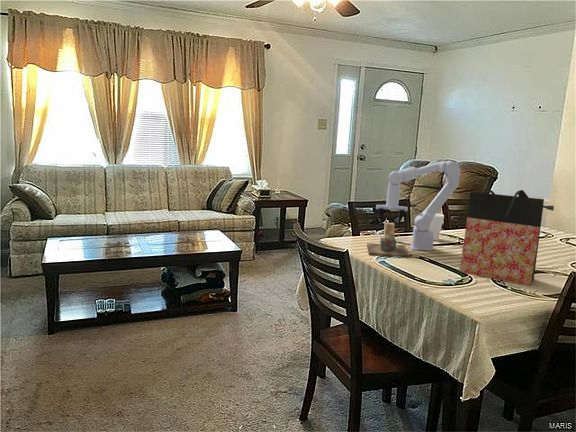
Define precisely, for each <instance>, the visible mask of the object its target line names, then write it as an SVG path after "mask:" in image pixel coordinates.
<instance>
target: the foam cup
mask: <svg viewBox="0 0 576 432" xmlns="http://www.w3.org/2000/svg"><path fill="white" fill-rule="evenodd" d="M444 219H445V215H444V214H441V213H438V212H437V213H436V214H435V215H434V217H433V220H432V221H431V223H430V226H429V228H428V229H429V231H433V233H434V240H436V241H439V239H440V234H441V230H442V226H443V223H444Z"/></svg>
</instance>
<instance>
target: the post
mask: <svg viewBox="0 0 576 432" xmlns="http://www.w3.org/2000/svg"><path fill="white" fill-rule="evenodd" d="M383 228H384V229H383V237H382V238H384V239H383V240H385V241H393V238H394V235H395V223H394V222H384V227H383Z"/></svg>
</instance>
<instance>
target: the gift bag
mask: <svg viewBox="0 0 576 432" xmlns="http://www.w3.org/2000/svg"><path fill="white" fill-rule="evenodd" d="M468 200H469V201H468V210H467V219H466V225H465V233H464V239H463V246H462V252H461V259H460V266H459V273H464V274H469V275H473V276H474V275H475V276H480V277H484V278H489V279H495V280H500V281H505V282H509V283H510V282H511V283H514V284H521V285H525V286H530V287H531V285H532V284H533V282H534V280H535V275H536V274H535V273H536V265H537V256H538V250H539V241H540V235H541V226H542V221H543V220H542V219H543V213H544V208H545V209H546V210H549V211H554V210H555V208H554V207H555V205H544V204H545V203H544V202H545V199H544V198H538V197H537V198H536V197H529V196H528V195H527V194H526V192H525V191H524V190H523V189H521V190H517V191H516V192H515V193H514V195H506V194H497V193H495V192H494V191H493V190H491V189H490V188H487V189H486V191H485V192H478V191H470V192H469V199H468Z"/></svg>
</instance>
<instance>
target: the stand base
mask: <svg viewBox="0 0 576 432" xmlns="http://www.w3.org/2000/svg"><path fill="white" fill-rule="evenodd" d="M383 239H384V238H383V237H380V239H379V240H380V241H379V242H380V243H372V242H370V243H369V242H367V243H366V248H367V252H368V256H381V257H382V256H383V257H393V256H401V257H400V258H409V257H410V258H411V254H410V252H409V250H408V249H407V247H406V245H405V244H402V245H401V244H397V240H396V238H394V237H393V241H385V240H383Z"/></svg>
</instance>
